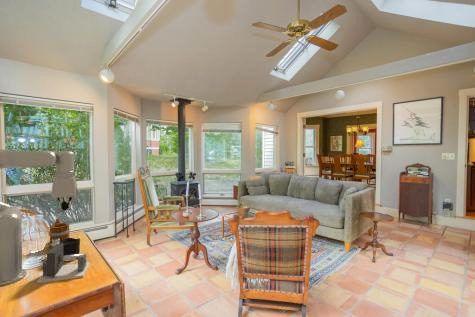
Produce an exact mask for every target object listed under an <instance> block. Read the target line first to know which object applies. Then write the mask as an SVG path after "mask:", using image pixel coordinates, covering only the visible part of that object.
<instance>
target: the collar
mask: <svg viewBox="0 0 475 317" xmlns="http://www.w3.org/2000/svg"><path fill="white" fill-rule="evenodd" d="M58 256H63V243H62V244H56V245H55V246H54V247H53V248H52V249H51V248H50V250H49V251H48V252H47V253H46V258H47V277H50V276H55V275H56V274H57V272H58V271H59V270H60V268H61V267H62V266H63V265H64V262H63V261H60V262H58Z"/></svg>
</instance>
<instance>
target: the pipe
mask: <svg viewBox="0 0 475 317" xmlns="http://www.w3.org/2000/svg"><path fill="white" fill-rule="evenodd" d="M69 260H72V261H77V264H78V272H81V271H84V269H85V268H86V263H87V253H84V252H83V253H79V254H75V255H65V256H58V262H60V261H67V262H70V261H69ZM42 275H43V276H47V257H45V258H44V261H43V262H42Z"/></svg>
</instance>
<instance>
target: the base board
mask: <svg viewBox="0 0 475 317" xmlns="http://www.w3.org/2000/svg"><path fill="white" fill-rule="evenodd" d="M90 265H91V261H89V262H88V261H87V262H86V268H85V269H84V271H81V272H78V263H73V264H63V266H62V267H61V268H60V270H59V271H58V272H57V274H56V275H55V276H50V277H47V276H43V274H42V275H41V276H40V277H39V278H38V279H37V281H36V284H43V283H44V284H45V283H51V282H58V281H64V280H72V279H79V278H84V277H85V274H86V272H87V271H88V269H89V267H90Z"/></svg>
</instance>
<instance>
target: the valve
mask: <svg viewBox="0 0 475 317" xmlns="http://www.w3.org/2000/svg"><path fill="white" fill-rule="evenodd" d="M59 242H60V239H59V238H55V239H53V240H52V248H53V247H54V246H55V245H56V244H59Z"/></svg>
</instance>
